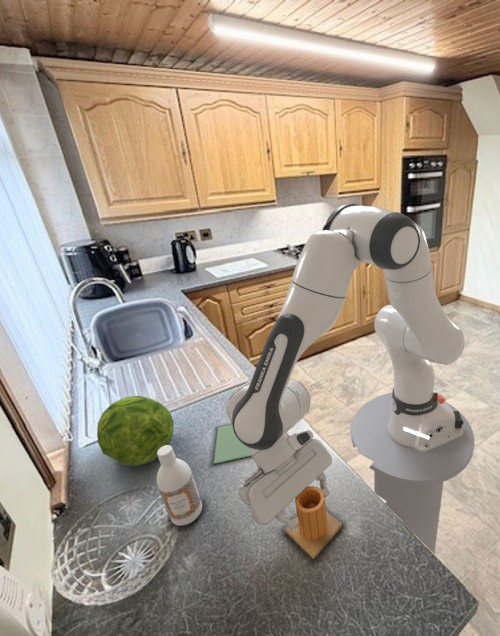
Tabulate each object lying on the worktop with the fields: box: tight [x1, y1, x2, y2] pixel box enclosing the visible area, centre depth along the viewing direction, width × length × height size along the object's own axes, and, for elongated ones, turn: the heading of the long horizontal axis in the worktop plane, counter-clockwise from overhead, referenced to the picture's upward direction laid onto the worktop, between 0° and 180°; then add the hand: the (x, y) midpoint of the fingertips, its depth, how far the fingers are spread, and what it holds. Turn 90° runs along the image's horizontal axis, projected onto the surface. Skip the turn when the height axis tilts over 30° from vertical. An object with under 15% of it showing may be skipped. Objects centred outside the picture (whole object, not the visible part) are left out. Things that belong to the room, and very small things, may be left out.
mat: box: [213, 424, 252, 465], centre depth 101 cm, size 14×14×1 cm
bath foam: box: [156, 444, 203, 527], centre depth 77 cm, size 7×7×20 cm
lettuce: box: [96, 395, 174, 467], centre depth 96 cm, size 17×23×17 cm
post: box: [283, 503, 343, 560], centre depth 75 cm, size 9×9×7 cm
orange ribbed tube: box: [294, 485, 327, 540], centre depth 74 cm, size 6×6×9 cm
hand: (311, 511), depth 74 cm, fingers open, 8 cm apart
